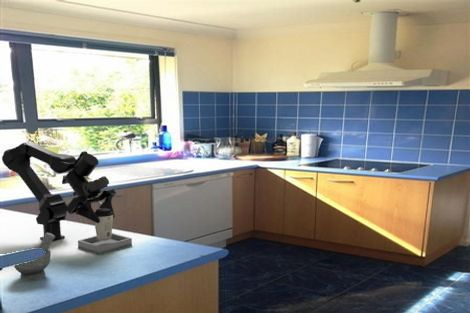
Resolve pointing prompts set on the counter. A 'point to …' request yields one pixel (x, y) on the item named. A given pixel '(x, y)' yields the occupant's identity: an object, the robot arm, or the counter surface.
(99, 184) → the robot arm
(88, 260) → the counter surface
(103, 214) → the coffee cup
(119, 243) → the tray
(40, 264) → the mortar and pestle
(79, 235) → the counter surface
